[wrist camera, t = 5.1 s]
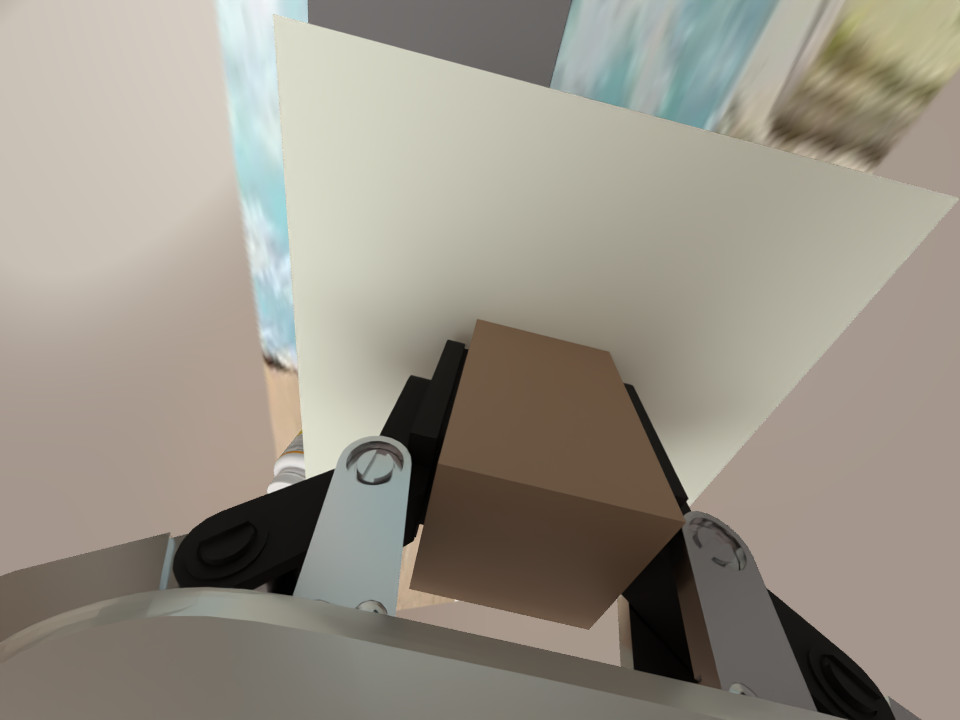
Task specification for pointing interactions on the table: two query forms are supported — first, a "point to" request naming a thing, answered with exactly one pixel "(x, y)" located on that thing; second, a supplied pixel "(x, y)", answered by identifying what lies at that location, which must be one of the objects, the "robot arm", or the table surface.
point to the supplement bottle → (289, 466)
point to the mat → (459, 30)
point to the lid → (556, 301)
